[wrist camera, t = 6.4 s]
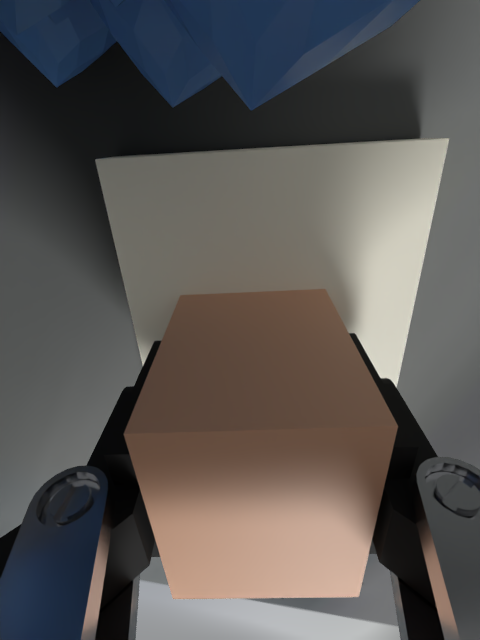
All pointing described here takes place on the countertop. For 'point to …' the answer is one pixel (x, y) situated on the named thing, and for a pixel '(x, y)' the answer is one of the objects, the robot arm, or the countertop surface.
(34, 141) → the countertop surface
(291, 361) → the stub
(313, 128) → the countertop surface
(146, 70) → the grapes
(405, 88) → the countertop surface
